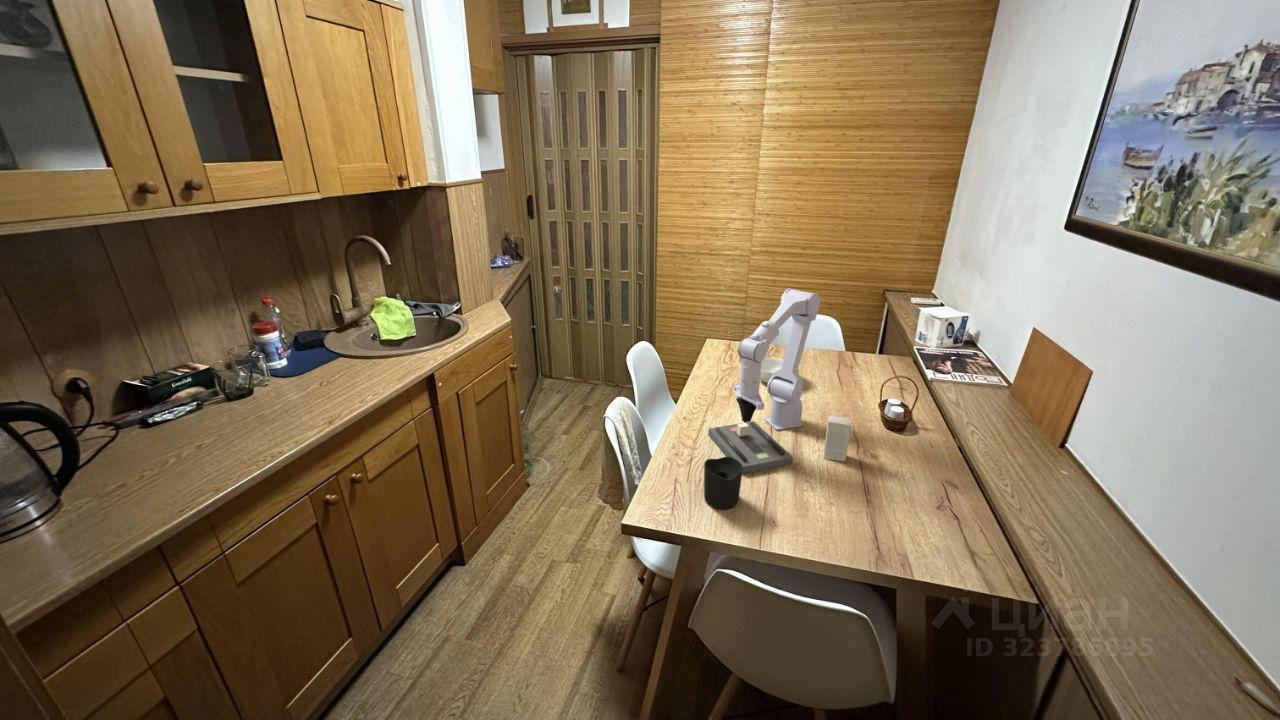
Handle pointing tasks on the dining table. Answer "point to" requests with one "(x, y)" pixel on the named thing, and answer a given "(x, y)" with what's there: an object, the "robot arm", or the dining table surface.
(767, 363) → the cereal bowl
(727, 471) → the pen holder
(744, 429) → the breaker toggle
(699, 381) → the dining table surface
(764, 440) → the breaker panel
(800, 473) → the dining table surface
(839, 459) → the skincare box
